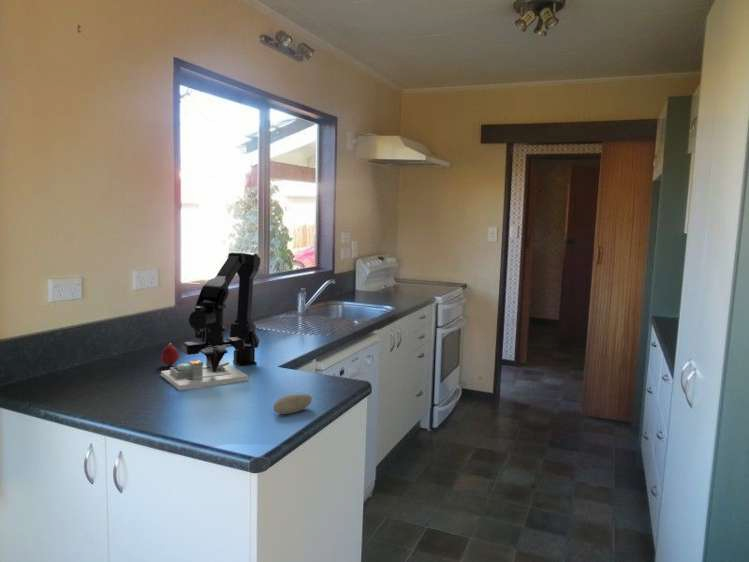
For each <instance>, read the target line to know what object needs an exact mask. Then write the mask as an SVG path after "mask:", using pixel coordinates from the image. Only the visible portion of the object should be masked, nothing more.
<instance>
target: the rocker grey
mask: <svg viewBox="0 0 749 562" xmlns="http://www.w3.org/2000/svg"><path fill="white" fill-rule="evenodd" d="M226 365H230V362H229V361H227V360H225V359H223V360H222V359H221V361H220V363H219V365H218V367H217V368H220V367H223V366H226Z"/></svg>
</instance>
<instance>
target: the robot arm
mask: <svg viewBox="0 0 749 562" xmlns="http://www.w3.org/2000/svg"><path fill="white" fill-rule="evenodd" d="M260 265H261V257H260V256H259V254H258V253H254V252H243V251H231V252H229V253H228V256H227V259H226V260H225V262H224V263H223V264H222V266H221V268H220V270H219V271H218V272H217V274H216V276H215V277H213V278H212V279H210V280H208V281H207V282H206V283H205V284H204V285H203V286H202V288H201V289H200V293H199V295H198V297H197V299H196V304H195V307H194V311H192V312H191V314H189V318H188V324H189V325H190V327H191V328H192V339H193V341H184V342H183V343H182V344H181V351H182V352H183V353H184V354H185V355H191V356H192V355H198V354H199V353H200V354H202V355H205V359H206V358H207V360H208V362H209V365H210V368H211V371H212V372H215V371H216V369H217V367H218V365H219V363H220V361H222V359H223V357H224V356H225V354H228V352H229V351H228V350H227V348H230V347H233V348H234V350H233V359H232V363H234V364H236V365H237V366H248V365H250V366H251V365H256V364H257V361H256V360H255V359H256V357H255V354H256V353H255V352H256V349H257V348H258V347H259V344H260V339H259V337H258V335H257V333H256V326H255V324H254V322H253V320H252V307H253V306H252V304H253V290H254V289H253V288H254V278H255V277H256V275H257V274H258V273H259V270H260ZM236 274H237V276H238V279H239V281H238V294H237V297H238V298H237V310H236V311H237V313H236V319H235V321H233V323H231V324H230V332H229V337H227V339H226V340H224V332H225V331H226V327H224V312H225V311H224V309H225V308H227V305H226V304H225V303H226V301H227V299H228V297H229V294H230V291H229V286H230V284H231V283H232V281H233V279H234V278H235V276H236ZM195 340H198V342H199V343H198V342H196V341H195Z"/></svg>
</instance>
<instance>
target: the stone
mask: <svg viewBox="0 0 749 562" xmlns="http://www.w3.org/2000/svg"><path fill="white" fill-rule="evenodd" d="M312 401H313V398H312V396H311V395H310V394H308V393H301V394H300V393H296V394H291V395H286V396H283V397H279V398H278V399H277V400H276V401H275V402H274V404H273V410H274V412H275V413H277V414H279V415H289V414H294V413H298V412H301V411H303V410H304V409H306V408H307V407H309V406H310V404H311V403H312Z"/></svg>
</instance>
